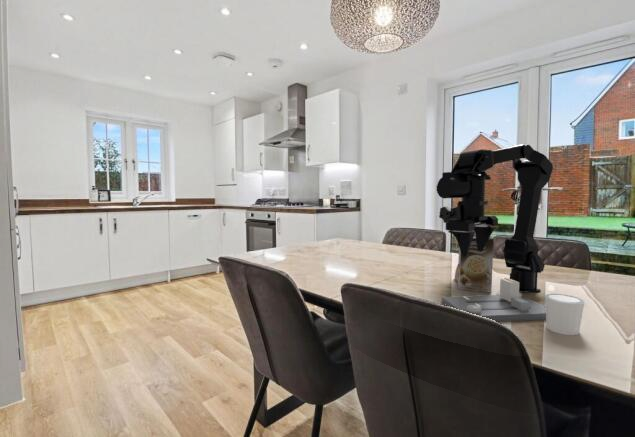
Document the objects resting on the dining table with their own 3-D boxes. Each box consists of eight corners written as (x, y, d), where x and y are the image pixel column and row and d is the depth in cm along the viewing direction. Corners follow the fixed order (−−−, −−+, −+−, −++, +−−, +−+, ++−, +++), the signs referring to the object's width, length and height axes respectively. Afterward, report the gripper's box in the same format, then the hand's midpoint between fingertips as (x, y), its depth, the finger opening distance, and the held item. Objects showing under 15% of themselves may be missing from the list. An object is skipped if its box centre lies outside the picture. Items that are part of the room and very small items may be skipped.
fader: (508, 296, 88) (509, 277, 88) (518, 301, 84) (519, 281, 84) (499, 297, 88) (500, 278, 88) (509, 302, 84) (510, 282, 84)
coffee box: (458, 289, 101) (460, 237, 100) (457, 284, 107) (458, 235, 106) (492, 292, 98) (494, 238, 97) (488, 286, 104) (490, 236, 103)
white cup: (535, 324, 74) (537, 293, 74) (564, 322, 75) (565, 292, 75) (560, 337, 68) (562, 303, 67) (591, 335, 68) (593, 302, 68)
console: (518, 299, 91) (519, 287, 91) (559, 318, 77) (560, 304, 77) (441, 302, 89) (441, 289, 89) (469, 322, 76) (469, 307, 75)
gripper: (460, 196, 102) (460, 246, 103) (427, 198, 90) (427, 254, 91) (499, 196, 93) (498, 250, 95) (467, 198, 82) (467, 260, 83)
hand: (472, 253), depth 91 cm, fingers open, 9 cm apart
